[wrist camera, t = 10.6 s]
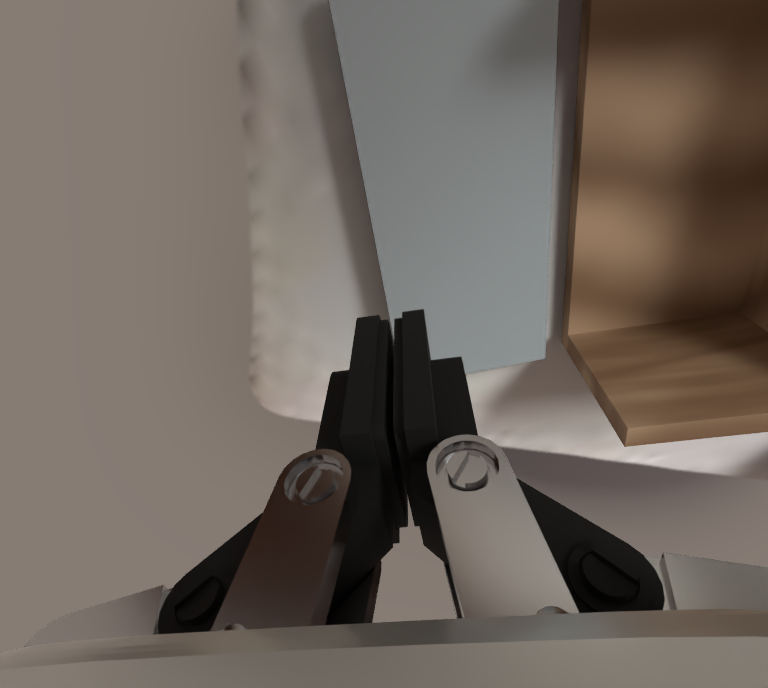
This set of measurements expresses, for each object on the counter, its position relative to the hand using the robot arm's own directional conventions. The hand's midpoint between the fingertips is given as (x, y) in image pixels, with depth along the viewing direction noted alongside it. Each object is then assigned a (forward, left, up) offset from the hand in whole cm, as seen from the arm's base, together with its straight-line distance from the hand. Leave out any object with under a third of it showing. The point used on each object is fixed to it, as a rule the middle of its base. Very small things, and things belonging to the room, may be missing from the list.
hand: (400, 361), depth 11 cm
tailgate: (0, +8, -14) cm, 16 cm away
